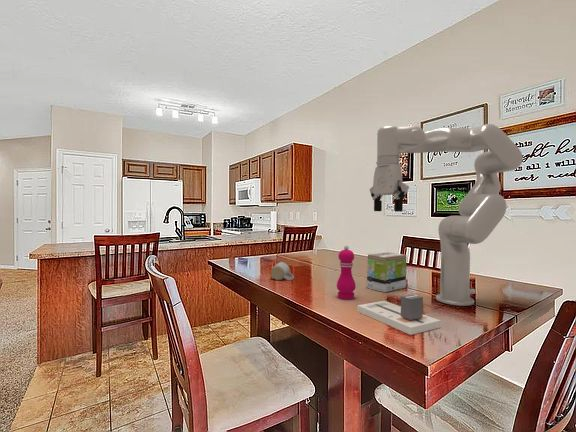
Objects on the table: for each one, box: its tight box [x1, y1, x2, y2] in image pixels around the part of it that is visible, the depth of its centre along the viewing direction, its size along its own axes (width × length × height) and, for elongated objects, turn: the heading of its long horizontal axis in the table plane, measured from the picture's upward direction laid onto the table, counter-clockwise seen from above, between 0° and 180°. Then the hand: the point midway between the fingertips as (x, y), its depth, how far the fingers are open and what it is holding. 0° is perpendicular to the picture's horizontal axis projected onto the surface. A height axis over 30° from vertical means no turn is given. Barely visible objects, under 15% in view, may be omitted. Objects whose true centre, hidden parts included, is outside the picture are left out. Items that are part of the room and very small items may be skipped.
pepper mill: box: [336, 245, 356, 301], centre depth 120 cm, size 7×7×20 cm
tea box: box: [366, 251, 407, 293], centre depth 135 cm, size 15×10×15 cm
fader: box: [400, 293, 424, 320], centre depth 91 cm, size 5×4×6 cm
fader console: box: [356, 300, 441, 336], centre depth 97 cm, size 12×22×2 cm, turn 27°
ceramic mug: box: [270, 261, 295, 281], centre depth 151 cm, size 11×8×8 cm
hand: (387, 211), depth 110 cm, fingers open, 9 cm apart
